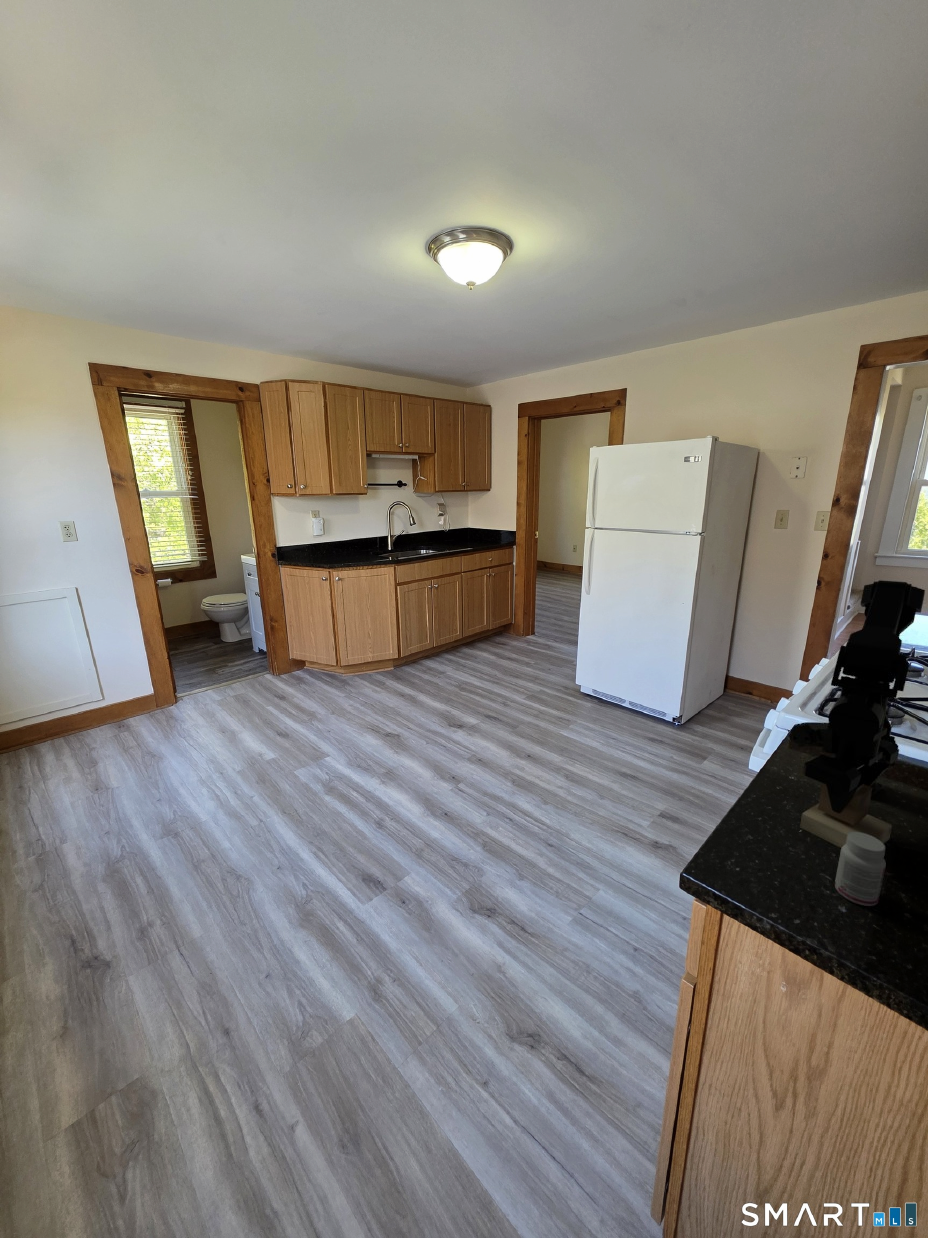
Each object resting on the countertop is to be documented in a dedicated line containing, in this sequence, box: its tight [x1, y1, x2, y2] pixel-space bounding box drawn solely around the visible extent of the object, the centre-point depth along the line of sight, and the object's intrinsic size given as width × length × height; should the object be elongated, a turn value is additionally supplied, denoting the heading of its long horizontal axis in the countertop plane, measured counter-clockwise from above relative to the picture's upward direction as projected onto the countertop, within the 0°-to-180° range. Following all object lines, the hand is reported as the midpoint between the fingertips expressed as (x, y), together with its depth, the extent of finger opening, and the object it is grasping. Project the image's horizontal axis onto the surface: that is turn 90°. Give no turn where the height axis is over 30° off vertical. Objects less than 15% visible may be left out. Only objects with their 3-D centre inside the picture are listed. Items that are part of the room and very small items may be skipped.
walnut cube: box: [818, 783, 872, 825], centre depth 79 cm, size 5×5×5 cm
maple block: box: [799, 802, 893, 849], centre depth 79 cm, size 9×9×3 cm
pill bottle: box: [834, 832, 887, 907], centre depth 66 cm, size 5×5×8 cm
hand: (843, 806), depth 79 cm, fingers closed on walnut cube, 5 cm apart
